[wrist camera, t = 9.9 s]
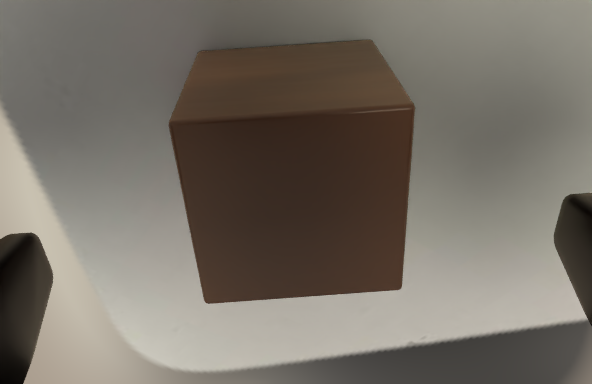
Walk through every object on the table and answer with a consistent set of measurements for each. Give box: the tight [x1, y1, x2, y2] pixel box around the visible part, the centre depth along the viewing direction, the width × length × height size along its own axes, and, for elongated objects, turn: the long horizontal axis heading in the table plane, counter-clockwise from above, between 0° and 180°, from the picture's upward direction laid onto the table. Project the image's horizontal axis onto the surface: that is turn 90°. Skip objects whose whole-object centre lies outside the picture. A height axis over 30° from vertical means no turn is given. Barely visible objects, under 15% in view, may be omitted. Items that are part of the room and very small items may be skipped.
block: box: [168, 40, 415, 304], centre depth 11 cm, size 4×4×4 cm
